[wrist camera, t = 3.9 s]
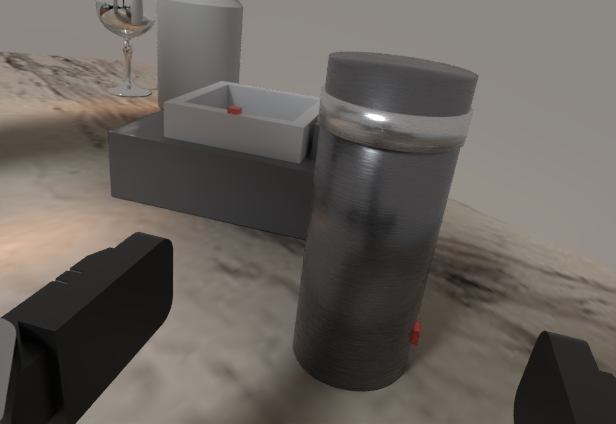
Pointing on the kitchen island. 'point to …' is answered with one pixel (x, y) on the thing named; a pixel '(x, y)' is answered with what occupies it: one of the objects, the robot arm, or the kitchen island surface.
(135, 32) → the wineglass
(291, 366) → the kitchen island surface
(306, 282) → the thermos
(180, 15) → the can
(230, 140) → the tray on grey base
